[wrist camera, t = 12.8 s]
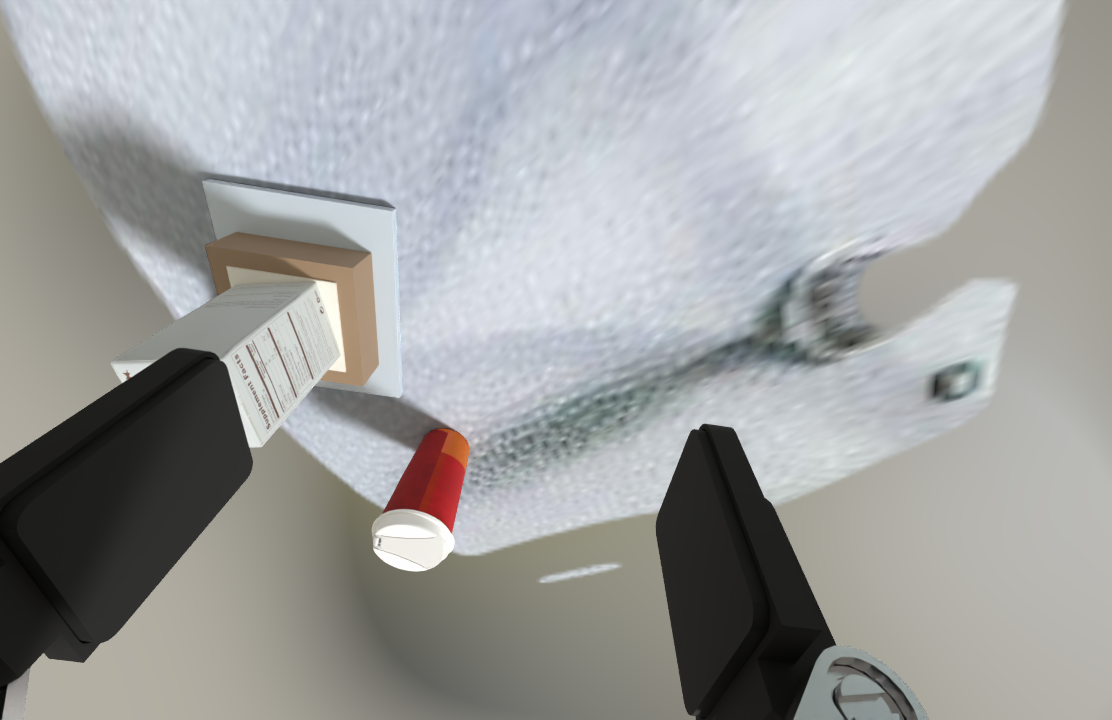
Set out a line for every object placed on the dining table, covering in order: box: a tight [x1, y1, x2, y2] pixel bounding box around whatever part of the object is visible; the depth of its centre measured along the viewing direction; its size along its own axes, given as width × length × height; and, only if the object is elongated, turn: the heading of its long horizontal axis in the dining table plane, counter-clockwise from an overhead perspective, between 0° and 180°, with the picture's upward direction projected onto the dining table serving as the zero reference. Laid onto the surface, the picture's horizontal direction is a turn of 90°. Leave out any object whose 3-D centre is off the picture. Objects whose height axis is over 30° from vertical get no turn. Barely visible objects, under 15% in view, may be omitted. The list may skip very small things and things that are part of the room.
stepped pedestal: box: [202, 179, 403, 398], centre depth 43 cm, size 20×16×5 cm
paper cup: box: [372, 428, 469, 571], centre depth 48 cm, size 8×8×14 cm
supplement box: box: [110, 282, 341, 447], centre depth 35 cm, size 7×7×13 cm
